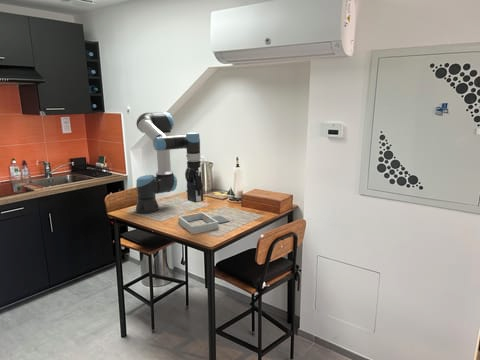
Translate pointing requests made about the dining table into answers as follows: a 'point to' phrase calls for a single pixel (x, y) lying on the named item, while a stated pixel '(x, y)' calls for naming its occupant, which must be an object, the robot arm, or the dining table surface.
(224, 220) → the mat
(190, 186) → the box
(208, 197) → the dining table surface
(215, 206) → the dining table surface
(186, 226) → the bin
